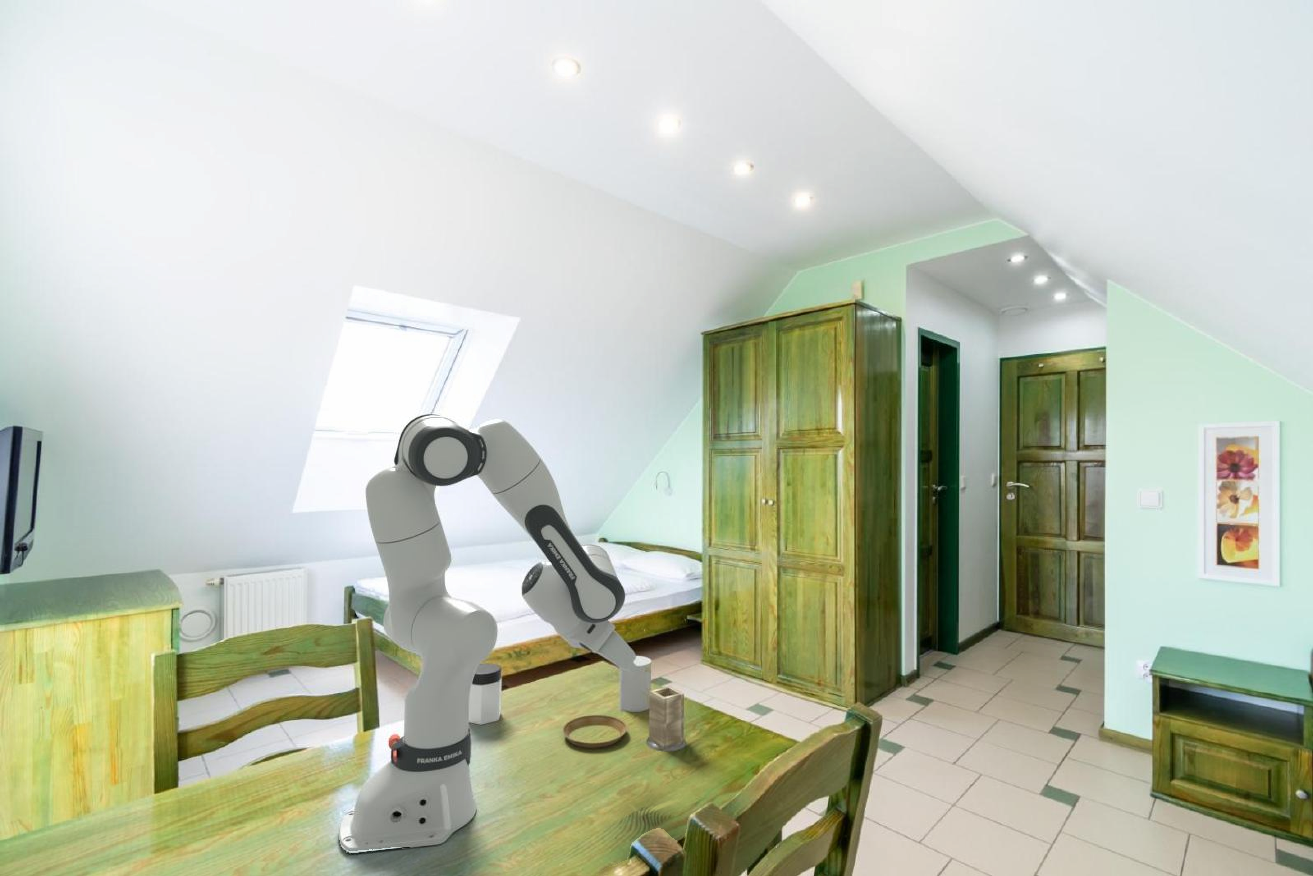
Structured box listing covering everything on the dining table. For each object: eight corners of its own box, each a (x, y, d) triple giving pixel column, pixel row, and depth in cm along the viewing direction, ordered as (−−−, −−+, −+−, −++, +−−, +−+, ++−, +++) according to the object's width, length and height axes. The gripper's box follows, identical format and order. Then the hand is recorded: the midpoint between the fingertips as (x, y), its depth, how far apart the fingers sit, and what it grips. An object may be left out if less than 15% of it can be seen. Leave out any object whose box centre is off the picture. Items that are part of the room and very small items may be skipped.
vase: (663, 749, 138) (663, 699, 138) (649, 740, 142) (649, 691, 143) (687, 742, 141) (687, 693, 142) (672, 733, 146) (673, 685, 146)
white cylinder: (650, 714, 158) (650, 666, 158) (618, 713, 158) (618, 665, 158) (651, 702, 166) (651, 656, 166) (620, 701, 166) (621, 655, 167)
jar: (494, 708, 161) (495, 660, 161) (507, 718, 154) (508, 669, 155) (459, 716, 155) (460, 667, 156) (471, 728, 149) (472, 676, 149)
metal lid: (661, 757, 135) (661, 741, 135) (638, 741, 143) (638, 726, 143) (694, 747, 140) (694, 731, 140) (670, 732, 148) (670, 717, 148)
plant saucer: (624, 755, 137) (625, 743, 137) (557, 754, 137) (557, 742, 137) (628, 726, 152) (628, 715, 152) (567, 725, 152) (567, 714, 152)
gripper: (551, 625, 137) (591, 661, 142) (594, 651, 120) (638, 692, 125) (570, 601, 139) (609, 638, 144) (615, 624, 122) (657, 665, 127)
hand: (623, 663), depth 134 cm, fingers open, 8 cm apart
